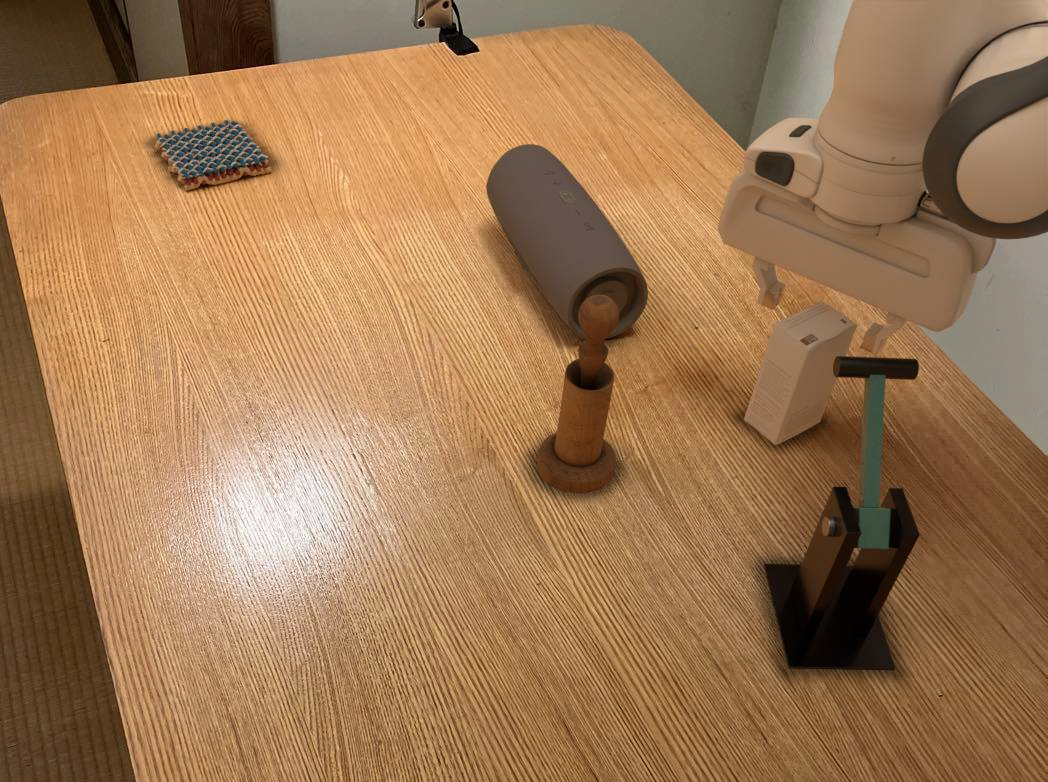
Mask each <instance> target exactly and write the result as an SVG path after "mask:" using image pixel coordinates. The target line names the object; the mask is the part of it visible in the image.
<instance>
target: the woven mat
mask: <svg viewBox="0 0 1048 782" xmlns="http://www.w3.org/2000/svg"><path fill="white" fill-rule="evenodd" d="M223 121H224V124H222V123H218V125H216V123H215V122H211V123H210V126H211V127H212V128H211V127H210V126H208V125H207V126H204V128H203V126H202V125H201V124H199V125H197V128H198V129H195V128H192V129H191V130H189V128H188V127H185V128H183V131H184V132H185V133H184V132H182V131H177V134H176V132H175V130H170V134H171V135H172V136H171V135H169V134H167V133H166V134H164V136H163V137H162V135H161V133H160V132H158V133H156V137H157V138H158V140H157V141H156V143H155V145H154V148H155V149H156V150H158V151H161V155H160V157H161V158H162V159H164V160H165V161H167V164H168V166H167V170H168V173H173V174H178V175H177V181H178V182H179V183H181V184H182V185H183V188H184V190H185V192H188V191H190V190H195V189H198V188H200V186H201V185H202V186H204V185H210V186H211V185H213V186H215V185H221V184H224V183H225V184H226V183H229V182H234V180H235V181H237V180H238V179H241V177H246V176H248V175H249V176H253V177H256V175H258V176H261V175H260V174H262V175H266V174H265V173H267V174H270V173H269V172H271V173H272V172H273V170H272V167H271V166H268V164H269V160H268V158H269V156H268V155H266V154H264V153H263V152H262V149H260V145H257V143H255V142H254V141H253V138H252V137H250V135H249V134H247V131H245V129H244V128H242V125H241V124H240V123H238V121H234V120H232V121H231V123H230V121H229V120H228V119H225V120H223ZM225 125H226V126H225ZM198 130H199V131H198ZM187 190H188V191H187Z"/></svg>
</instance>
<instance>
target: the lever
mask: <svg viewBox="0 0 1048 782" xmlns="http://www.w3.org/2000/svg"><path fill="white" fill-rule="evenodd" d="M919 370H920V363H919V361H918V359H916V358H908V357H907V358H905V357H904V358H903V357H880V356H879V357H878V356H877V357H875V356H847V355H846V356H837V357H836V358H835V360H834V363H833V374H834V376H835V377H837V378H845V379H846V378H847V379H864V385H863V386H864V388H863V404H862V405H863V406H862V427H861V429H862V430H861V431H862V432H861V449H860V464H859V465H860V467H859V469H860V470H859V484H858V485H859V488H858V489H859V490H858V504H857V505H858V506H853V508H854V511H855V515H856V518H857V521H858V524H859V527H860V530H861V535H860V538H859V540H858V542H857V544H856V546H855V549H859V550H860V549H889V532H890V513H891V509H890V508H880V496H881V494H880V492H881V474H882V456H883V455H882V453H883V436H884V435H883V432H884V419H885V418H884V415H885V396H886V380H901V381H902V380H903V381H905V380H906V381H914V380H916V379H917V377H918V375H919Z"/></svg>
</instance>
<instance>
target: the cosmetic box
mask: <svg viewBox="0 0 1048 782" xmlns="http://www.w3.org/2000/svg"><path fill="white" fill-rule="evenodd" d="M857 328H858V324H857V323H856V322H855V321H853V320H852V319H850V318H849V317H848V316H846V315H845V314H843V313H842V312H840V311H838V310H837V309H836V308H833V307H832V306H831V305H830V304H829V303H825V302H824V301H823V300H819V301H818V302H816V303H814V304H811V305H809V306H808V307H805V308H803V309H802V310H800V311H797V312H795V313H794V314H791V315H789V316H787V317H785V318H782V319H781V320H779V321H777V322H775V323H774V324H773V327H772V330H771V333H770V336H769V340H768V343H767V345H766V346H767V347H766V349H765V351H764V352H765V353H764V355H763V358H762V361H761V364H760V367H759V372H758V373H757V376H756V380H755V383H754V387H753V390H752V393H751V395H750V399H749V402H748V405H747V408H746V412H745V415H744V418H743V420H744V422H746V423H748V425H750V426H751V427H753V428H754V429H755V430H757V432H759V433H760V434H762V436H764V437H765V438H766V439H767V440H769V441H770V442H771V443H772V444H773V445H776V446H777V445H780V444H782V443H784V442H786V441H788V440H790V439H792V438H793V437H794V438H795V437H796V436H798V435H799V434H802V433H803V432H805V431H807V430H809V429H810V428H813V427H814V426H816V425H817V424H819V423H821V421H822V418H823V416H824V413H825V411H826V407H827V405H828V403H829V400H830V397H831V394H832V392H833V390H834V387H835V384H836V383H837V379H838V377H835V376H834V374H833V363H834V360H835V358H836V357H837V356H847V353H848V352H849V348H850V346H851V344H852V340H853V338H854V335H855V333H856V330H857Z"/></svg>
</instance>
